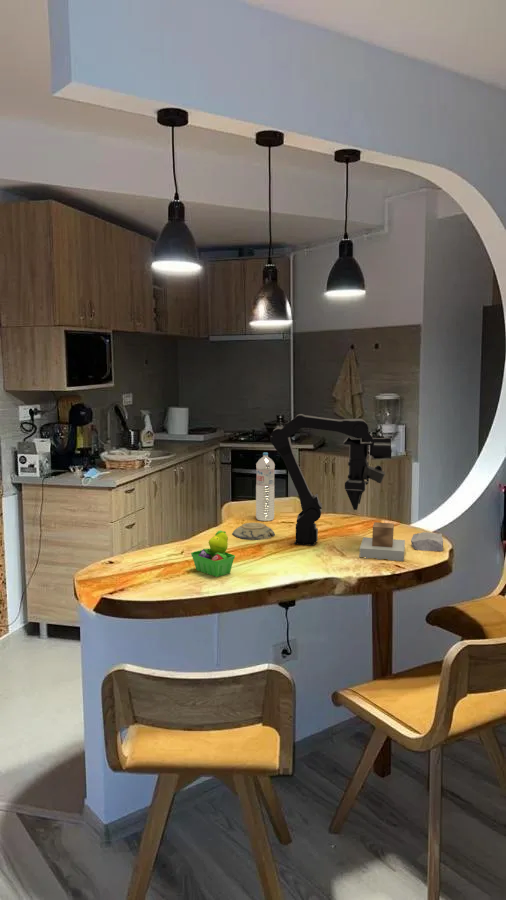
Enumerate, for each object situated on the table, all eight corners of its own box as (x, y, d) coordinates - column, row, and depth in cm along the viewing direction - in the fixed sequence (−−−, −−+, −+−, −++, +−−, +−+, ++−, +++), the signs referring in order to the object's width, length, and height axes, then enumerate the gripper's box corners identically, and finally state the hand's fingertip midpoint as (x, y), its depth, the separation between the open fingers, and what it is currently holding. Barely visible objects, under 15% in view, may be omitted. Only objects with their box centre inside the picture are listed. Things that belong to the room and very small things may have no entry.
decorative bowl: (236, 529, 244) (227, 539, 229) (236, 519, 243) (227, 529, 228) (278, 531, 241) (271, 542, 226) (278, 521, 240) (272, 531, 226)
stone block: (413, 556, 217) (445, 552, 215) (410, 541, 217) (443, 537, 215) (412, 547, 229) (443, 543, 227) (409, 533, 228) (440, 529, 226)
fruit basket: (189, 570, 196) (189, 531, 194) (212, 563, 202) (212, 526, 200) (216, 579, 188) (216, 539, 186) (239, 572, 194) (239, 533, 192)
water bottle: (253, 517, 258) (253, 451, 255) (270, 516, 261) (271, 451, 257) (259, 522, 252) (259, 454, 249) (276, 520, 254) (277, 453, 251)
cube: (372, 545, 210) (372, 526, 210) (373, 540, 216) (374, 522, 215) (392, 547, 209) (392, 528, 208) (393, 542, 215) (393, 523, 214)
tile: (359, 557, 208) (359, 548, 208) (363, 546, 221) (363, 537, 220) (403, 561, 205) (403, 551, 205) (404, 549, 218) (404, 540, 217)
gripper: (382, 464, 208) (380, 514, 210) (385, 455, 226) (384, 502, 228) (345, 462, 211) (343, 512, 213) (351, 454, 229) (350, 500, 231)
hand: (356, 506), depth 221 cm, fingers open, 9 cm apart
